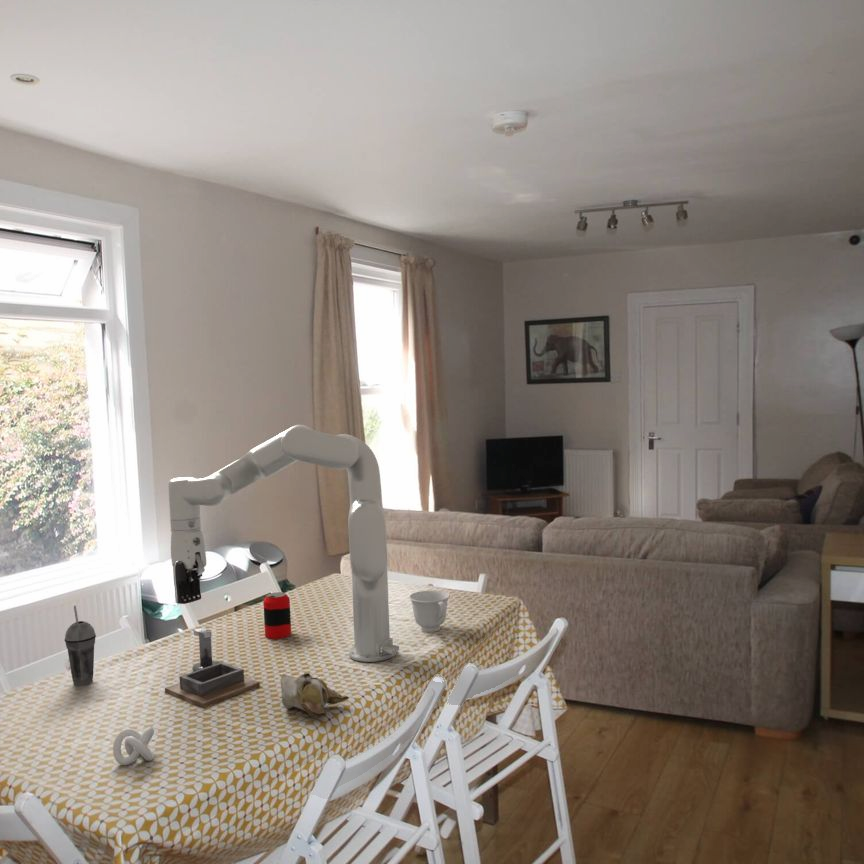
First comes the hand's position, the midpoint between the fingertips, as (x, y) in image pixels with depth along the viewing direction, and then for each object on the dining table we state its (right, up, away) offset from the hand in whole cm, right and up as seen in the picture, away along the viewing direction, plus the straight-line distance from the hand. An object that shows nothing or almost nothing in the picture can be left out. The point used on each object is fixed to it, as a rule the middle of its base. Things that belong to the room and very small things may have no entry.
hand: (189, 593), depth 208 cm
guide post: (+5, -19, -2) cm, 20 cm away
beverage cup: (-24, -21, -8) cm, 33 cm away
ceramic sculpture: (+36, -20, -30) cm, 51 cm away
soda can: (+19, -17, +25) cm, 36 cm away
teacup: (+64, -16, +24) cm, 70 cm away
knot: (+5, -23, -51) cm, 56 cm away
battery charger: (0, -2, 0) cm, 2 cm away
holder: (+10, -20, -16) cm, 27 cm away
